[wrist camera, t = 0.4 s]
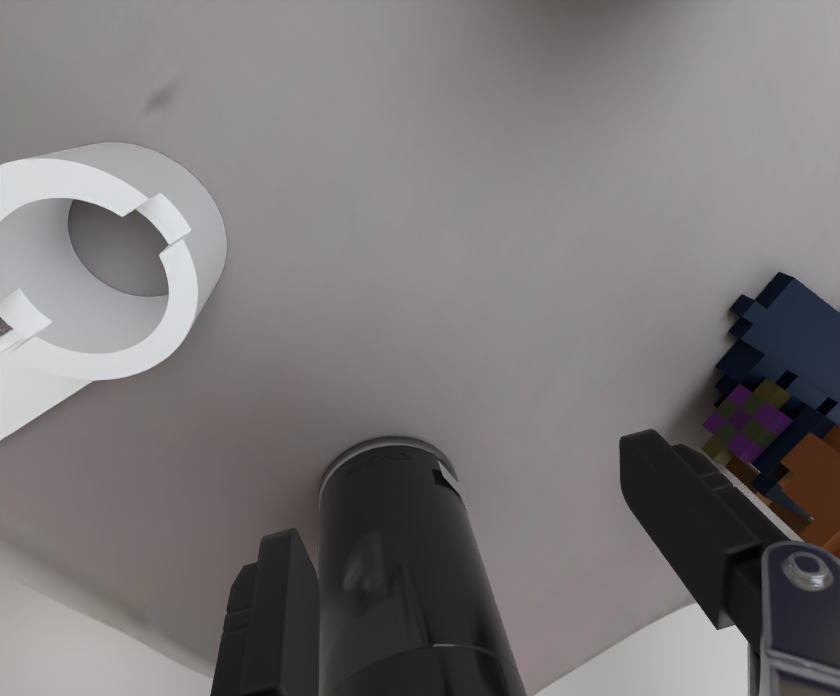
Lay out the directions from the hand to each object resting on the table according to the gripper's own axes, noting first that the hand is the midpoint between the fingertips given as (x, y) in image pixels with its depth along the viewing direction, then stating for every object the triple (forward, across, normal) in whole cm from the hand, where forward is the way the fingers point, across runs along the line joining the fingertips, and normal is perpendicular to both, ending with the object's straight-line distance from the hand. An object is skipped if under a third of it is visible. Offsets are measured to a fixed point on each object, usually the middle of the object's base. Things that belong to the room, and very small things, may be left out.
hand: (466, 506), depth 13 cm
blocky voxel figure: (+18, +24, -15) cm, 34 cm away
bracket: (+18, -17, +3) cm, 25 cm away
